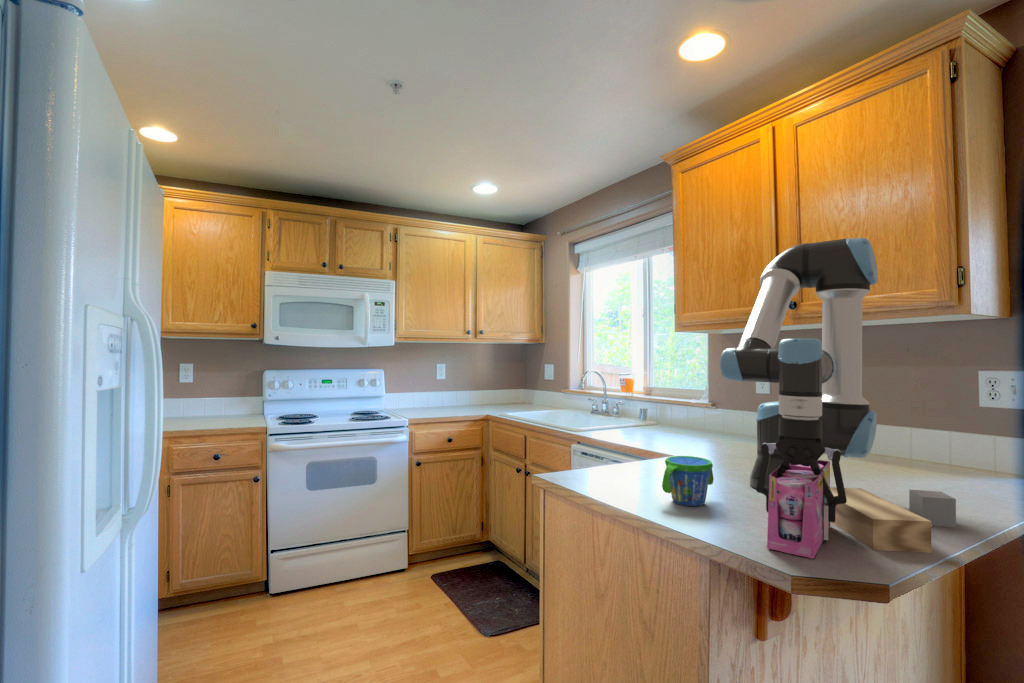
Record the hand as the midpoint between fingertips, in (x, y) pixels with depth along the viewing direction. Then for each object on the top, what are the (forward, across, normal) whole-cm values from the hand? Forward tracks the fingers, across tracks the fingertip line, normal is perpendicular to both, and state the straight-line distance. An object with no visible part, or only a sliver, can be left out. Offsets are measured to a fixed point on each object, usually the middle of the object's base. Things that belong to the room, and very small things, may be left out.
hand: (799, 533), depth 103 cm
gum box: (+1, 0, +1) cm, 1 cm away
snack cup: (+1, -24, +13) cm, 27 cm away
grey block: (+1, +24, +27) cm, 36 cm away
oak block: (+1, +12, +13) cm, 17 cm away
